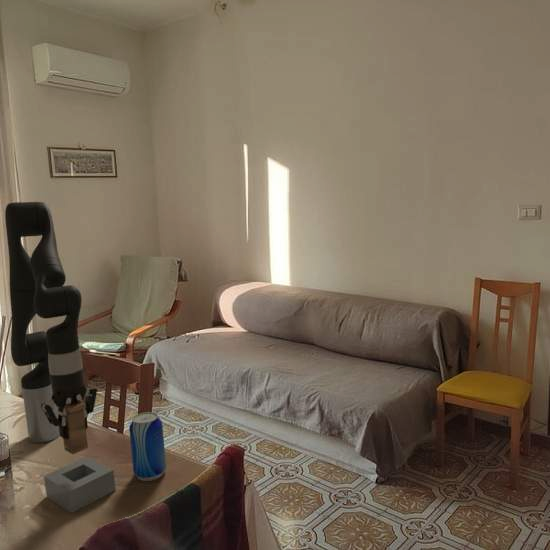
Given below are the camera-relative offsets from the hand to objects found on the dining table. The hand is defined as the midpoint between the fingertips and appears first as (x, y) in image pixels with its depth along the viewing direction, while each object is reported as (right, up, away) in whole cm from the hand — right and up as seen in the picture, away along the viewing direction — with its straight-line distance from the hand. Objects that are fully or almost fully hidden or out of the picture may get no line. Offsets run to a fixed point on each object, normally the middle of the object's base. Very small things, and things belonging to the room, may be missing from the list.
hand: (74, 434), depth 132 cm
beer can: (+16, -14, +10) cm, 24 cm away
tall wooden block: (0, -4, +1) cm, 4 cm away
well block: (+1, -15, +3) cm, 16 cm away
